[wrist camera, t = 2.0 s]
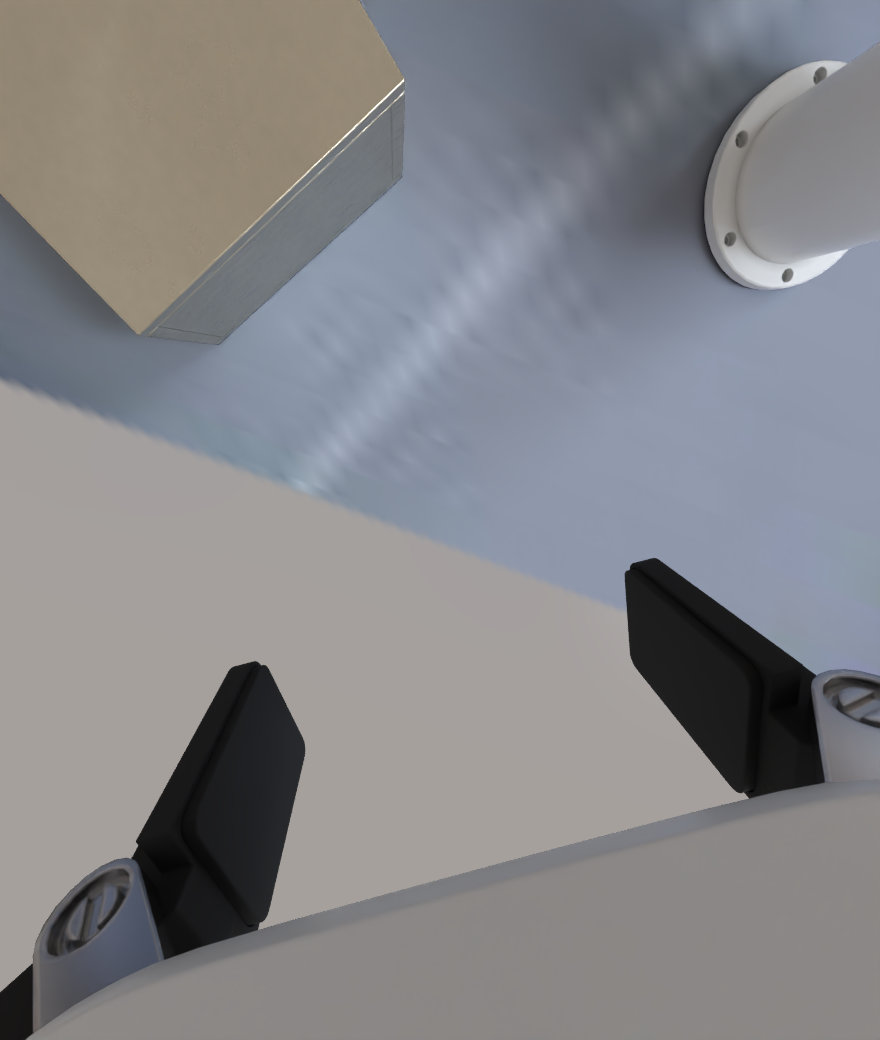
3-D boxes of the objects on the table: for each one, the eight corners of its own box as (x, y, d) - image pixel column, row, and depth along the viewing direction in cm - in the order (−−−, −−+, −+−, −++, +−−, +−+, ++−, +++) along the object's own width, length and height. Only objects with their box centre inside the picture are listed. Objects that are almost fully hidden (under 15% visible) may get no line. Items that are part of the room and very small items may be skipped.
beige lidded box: (4, 108, 23) (-242, -53, 14) (211, -129, 21) (72, -498, 12) (218, 345, 29) (137, 336, 20) (402, 177, 26) (406, 79, 17)
